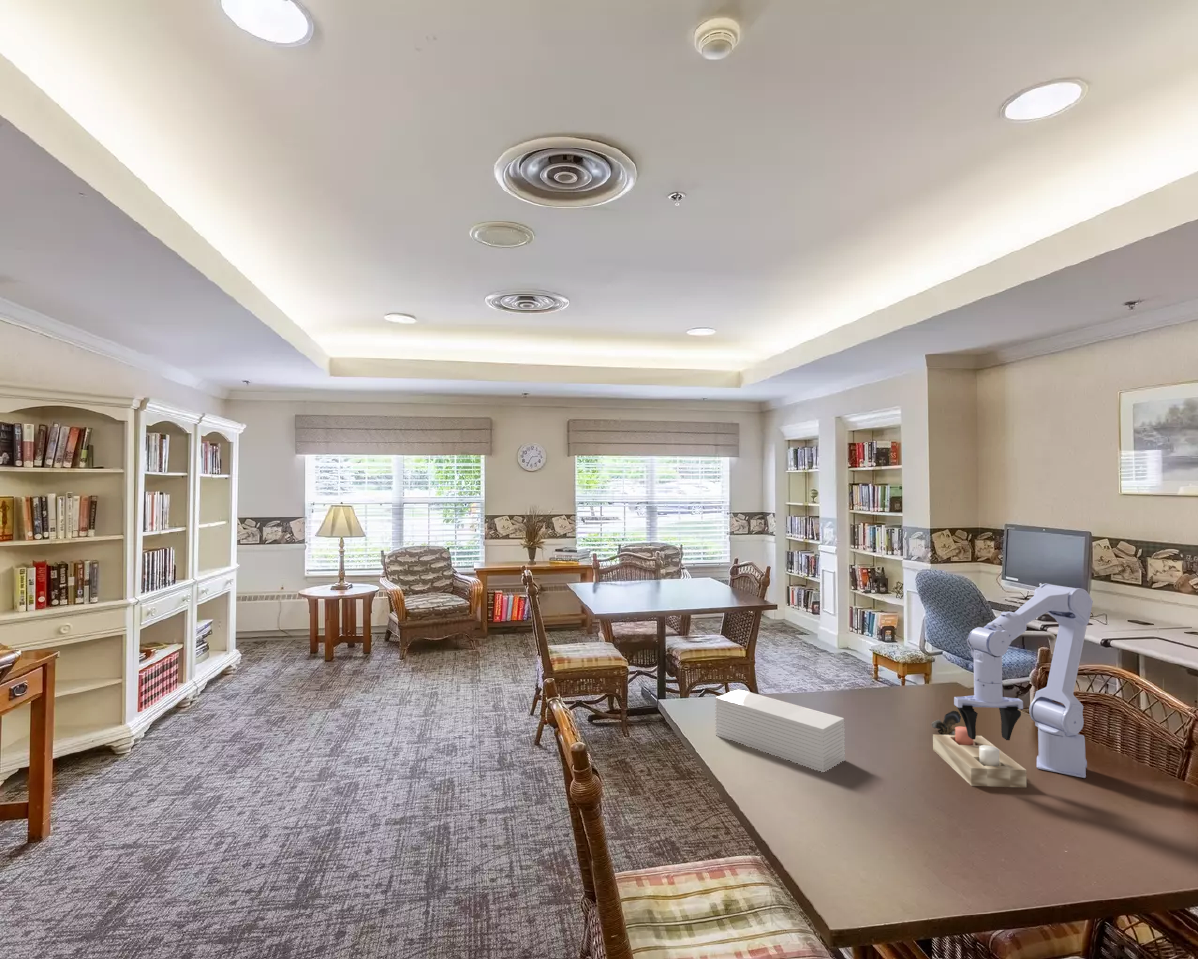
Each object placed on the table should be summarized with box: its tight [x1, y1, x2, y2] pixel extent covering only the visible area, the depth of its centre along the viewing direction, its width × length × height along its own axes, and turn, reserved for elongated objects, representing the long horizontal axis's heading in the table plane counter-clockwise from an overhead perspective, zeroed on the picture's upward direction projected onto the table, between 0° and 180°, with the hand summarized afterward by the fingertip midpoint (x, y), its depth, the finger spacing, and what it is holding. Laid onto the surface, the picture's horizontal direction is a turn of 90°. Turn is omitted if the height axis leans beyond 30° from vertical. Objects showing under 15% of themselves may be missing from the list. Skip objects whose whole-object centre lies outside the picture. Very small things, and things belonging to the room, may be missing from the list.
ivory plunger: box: [979, 745, 1000, 766], centre depth 149 cm, size 4×4×4 cm
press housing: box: [932, 734, 1027, 789], centre depth 155 cm, size 12×20×4 cm, turn 175°
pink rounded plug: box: [954, 725, 974, 745], centre depth 161 cm, size 4×4×4 cm
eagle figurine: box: [930, 710, 962, 735], centre depth 175 cm, size 8×7×9 cm
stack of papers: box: [715, 688, 846, 773], centre depth 168 cm, size 32×11×11 cm, turn 42°
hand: (988, 738), depth 149 cm, fingers open, 7 cm apart
